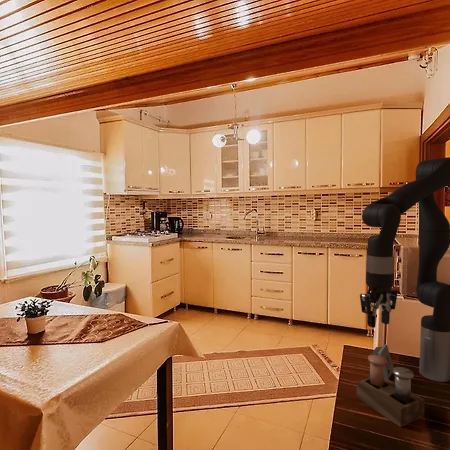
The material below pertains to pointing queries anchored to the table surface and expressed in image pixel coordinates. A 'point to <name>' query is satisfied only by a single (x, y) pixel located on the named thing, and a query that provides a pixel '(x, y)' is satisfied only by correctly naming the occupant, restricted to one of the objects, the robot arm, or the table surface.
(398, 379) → the grey plug
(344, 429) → the table surface
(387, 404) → the socket board
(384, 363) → the terracotta plug
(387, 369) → the electrical switch
